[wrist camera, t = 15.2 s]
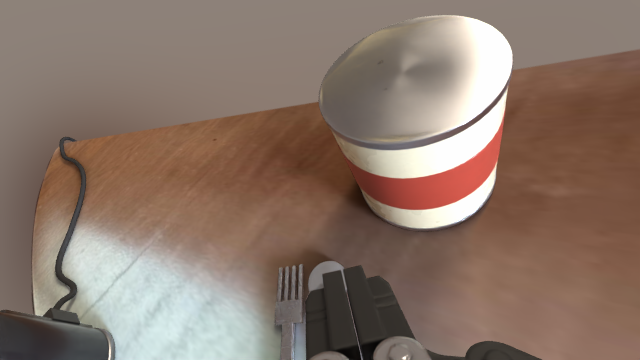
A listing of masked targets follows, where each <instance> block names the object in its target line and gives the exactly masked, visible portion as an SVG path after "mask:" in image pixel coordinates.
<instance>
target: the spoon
mask: <svg viewBox="0 0 640 360" xmlns="http://www.w3.org/2000/svg"><path fill="white" fill-rule="evenodd" d="M343 269H345V268H344V267H343V266H342V265H341V264H339V263H338V262H335V261H325V262H322V263H320V264H319V265H317V266H316V267H315V268H314V269H313V271H312V272H311V274H310V276H309V281H308V288H309V292H310V291H312V290H317V289H321V288H324V286H323V277H322V274H324V273H328V272H333V271H337V270H341V272H342V276H343V281H344V285H345V289H346V293H347V287H346V283H345V278H344V274H343Z"/></svg>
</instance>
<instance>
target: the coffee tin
mask: <svg viewBox="0 0 640 360" xmlns="http://www.w3.org/2000/svg"><path fill="white" fill-rule="evenodd" d="M512 68H513V55H512V50H511V47H510V45H509V44H508V41H507V40H506V38H505V37H504V36H503V35H502V34H501V33H500V32H499V31H498V30H497V29H495V28H494V27H492V26H490V25H489V24H487V23H484V22H482V21H479V20H477V19H472V18H468V17H462V16H453V15H438V16H426V17H420V18H415V19H410V20H407V21H402V22H399V23H397V24H393V25H390V26H388V27H385V28H383V29H381V30H378V31H376V32H374V33H372V34H370V35H369V36H367V37H365V38H363V39H362V40H360V41H359V42H357V43H356V44H354V45H353V46H352V47H350V48H349V49H348V50H346V52H344V53H343V54H342V55H341V56H340V57H339V58H338V59H337V60H336V61H335V63H333V65H332V66H331V67H330V69H329V70H328V72H327V74H326V75H325V77H324V79H323V82H322V84H321V88H320V91H319V107H320V111H321V114H322V116H323V118H324V120H325V122H326V123H327V125H328V126H329V128H330V129H331V131H332V133H333V135H334V137H335V139H336V141H337V143H338V146H339V148H340V150H341V152H342V154H343V156H344V158H345V160H346V162H347V164H348V166H349V168H350V170H351V172H352V174H353V176H354V178H355V180H356V181H357V183H358V185H359V187H360V189H361V191H362V194H363V197H364V199H365V200H366V202H367V204H368V206H369V207H370V208H371V210H372V211H373V212H374V213H375V214H376V215H377V216H378V217H380V218H381V219H382V220H384V221H386V222H387V223H389V224H391V225H394V226H396V227H399V228H402V229H406V230H411V231H424V232H428V231H438V230H442V229H447V228H450V227H453V226H456V225H458V224H460V223H462V222H464V221H466V220H468V219H469V218H471V217H472V216H474V215H475V214H476V213H477V212H478V211H479V210H480V209H481V208H482V207H483V206H484V205H485V204H486V202H487V201H488V199H489V198H490V196H491V194H492V191H493V189H494V185H495V181H496V165H497V160H498V155H499V150H500V143H501V136H502V129H503V123H504V116H505V103H506V96H507V90H508V85H509V83H510V79H511V74H512Z"/></svg>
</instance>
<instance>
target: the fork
mask: <svg viewBox="0 0 640 360" xmlns="http://www.w3.org/2000/svg"><path fill="white" fill-rule="evenodd" d="M283 276H284V268H279V277H278V292H277V302H276V312H275V325H277V326H278V325H282V341H281V359H280V360H294V342H295V324H299V323H303V284H304V265H303V264H301V265H299V283H298V300H296V287H297V266H296V265H295V266H292V286H291V300H290V301H289V289H290V267H289V266H288V267H286V269H285V287H284V301H282V294H283Z"/></svg>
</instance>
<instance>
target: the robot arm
mask: <svg viewBox="0 0 640 360" xmlns="http://www.w3.org/2000/svg"><path fill="white" fill-rule="evenodd" d="M65 140H70V141H72V142H75V141H76V140H75V139H73V138H70V137H63V138H62V139H61V140H60V152H61V155H62V157H63V158H64V159H65V160H68V161H71V162H73V163H74V164H75V165H76V166H77V167H78V168H79V170H80V173H81V189H80V194H79V199H78V202H77V206H76V209H75V211H74V214H73V217H72V220H71V223H70V226H69V229H68V231H67V234H66V236H65V239H64V241H63V243H62V246H61V248H60V251H59V253H58V256H57V260H56V265H55V272H56V276H57V277H58V279H59V280H60V281H62V282H63V283H65V284H66V285H68V286H69V287H70V293H69V294H67V295H66V296H64V297H63V298H61V299H60V300H59V301H58V302H57V303H56V305H55V306H54V308H50V309H49V310H48V311H47V312H46V313H45V314H44V315H43V316H37V315H32V314H26V313H21V312H15V311H10V310H1V311H0V360H114V358H115V344H114V340H113V337H112V335H111V334H110V333H109V332H108V331H106V330H104V329H99V328H93V327H92V326H91V325H86V324H81V323H80V321H79V319H78V316H77V314H76V313H72V312H67V311H63V310H60V308H61V307H62V305H63V304H64V303H65V302H67V301H68V300H70V299H71V298H73V297H74V296H75V294H76V292H77V286H76V284H75V283H74V282H73V281H71V280H70V279H68V278H67V277H65V276H64V274H63V273H62V270H61V265H62V260H63V256H64V253H65V251H66V248H67V246H68V243H69V241H70V239H71V236H72V233H73V231H74V228H75V224H76V221H77V218H78V216H79V213H80V210H81V206H82V203H83V199H84V194H85V188H86V175H85V171H84V168H83V167H82V165H81V164H80V163H79V162H78V161H76V160H75V159H73V158H69V157H67V156H66V154H65V151H64V146H63V144H64V141H65ZM343 274H344V278H345V283H346V287H347V292H348V297H349V301H350V306H351V310H352V315H353V319H354V324H355V328H356V332H357V336H358V341H359V345H360V349H361V353H362V358H363V360H541V359H539V358H537V357H534V356H532V355H530V354H527V353H525V352H523V351H520V350H518V349H516V348H514V347H511V346H509V345H506V344H504V343H500V342H494V341H484V342H479V343H476V344H474V345H473V346H471V347H470V348H469V349H468V351H467V353H466V356H465V357H455V356H444V355H439V354H436V353H433V352H431V351H429V350H427V349H425V348H424V346H422V345H421V344H420V343H419V342H418V341H417V340H416V339H415V337H414V335H413V333H412V331H411V329H410V327H409V325H408V323H407V321H406V319H405V317H404V314H403V312H402V310H401V308H400V306H399V304H398V302H397V300H396V298H395V295H394V294H393V291H392V289H391V287H390V285H389V283H388V282H387V281H385V280H384V279H383V278H381V277H380V276H375V277H371V278H366V276H365V273H364V270H363V268H362V265H360V266H355V267H351V268H346V269H343ZM322 277H323V286H324V288H321V289H317V290H312V291H310V293H309V295H308V297H307V299H306V301H305V309H306V360H361V355H360V351H359V346H358V342H357V337H356V333H355V329H354V324H353V320H352V316H351V311H350V307H349V302H348V298H347V294H346V289H345V285H344V281H343V276H342V272H341V270H337V271H333V272H328V273H324V274H322Z"/></svg>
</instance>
